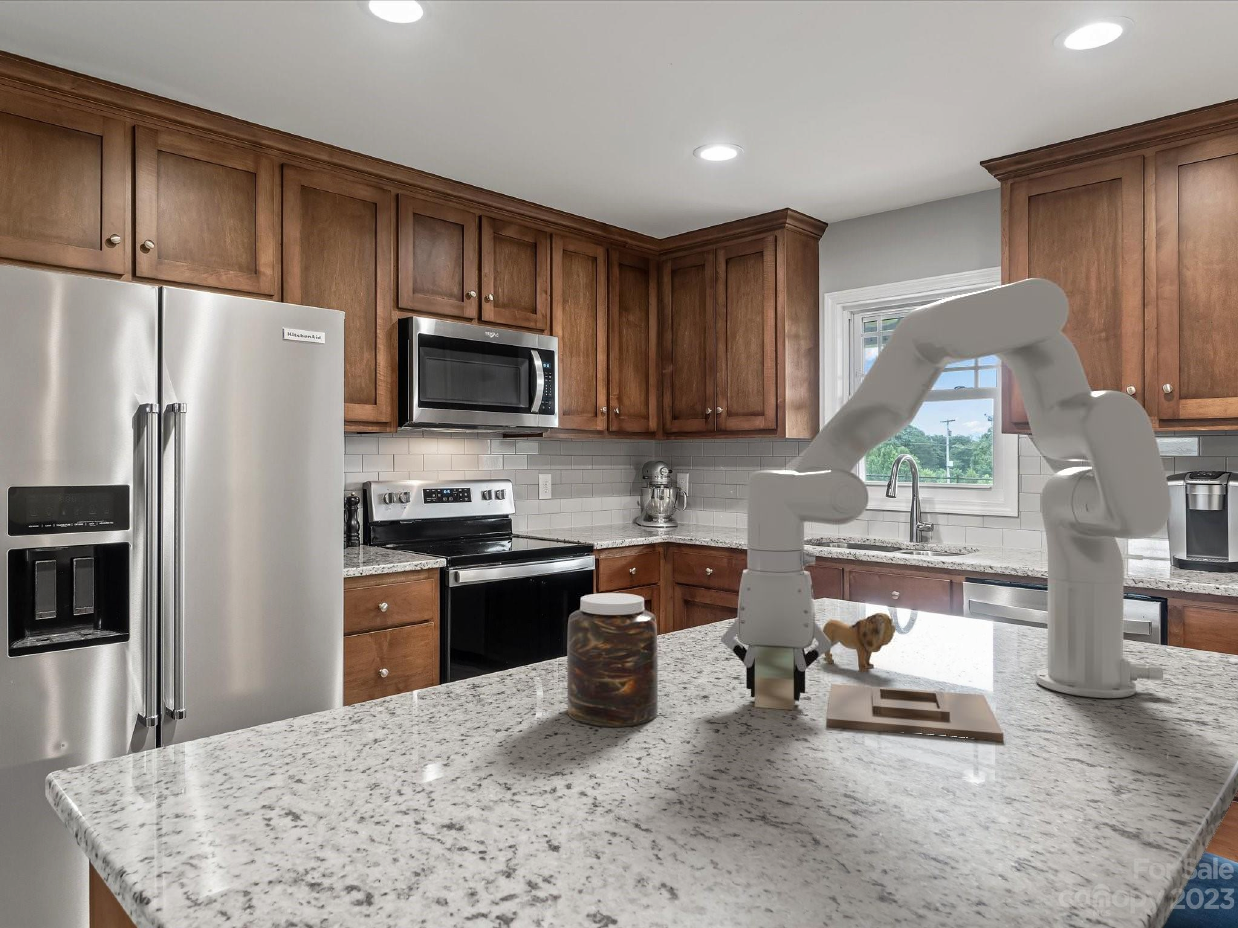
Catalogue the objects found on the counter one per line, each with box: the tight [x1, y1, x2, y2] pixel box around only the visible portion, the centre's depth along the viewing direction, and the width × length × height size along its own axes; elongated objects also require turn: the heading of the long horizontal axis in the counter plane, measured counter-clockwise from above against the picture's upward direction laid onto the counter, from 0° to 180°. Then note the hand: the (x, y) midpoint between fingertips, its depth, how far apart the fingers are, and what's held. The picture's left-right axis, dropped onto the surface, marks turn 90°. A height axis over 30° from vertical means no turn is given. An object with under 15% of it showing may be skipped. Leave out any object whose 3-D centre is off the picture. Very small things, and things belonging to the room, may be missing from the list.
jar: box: [566, 592, 659, 728], centre depth 108 cm, size 12×12×15 cm
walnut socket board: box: [826, 683, 1004, 743], centre depth 107 cm, size 20×16×2 cm
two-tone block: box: [754, 646, 796, 711], centre depth 112 cm, size 5×5×8 cm
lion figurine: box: [822, 612, 896, 672], centre depth 132 cm, size 15×5×9 cm, turn 46°
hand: (775, 694), depth 112 cm, fingers closed on two-tone block, 5 cm apart
